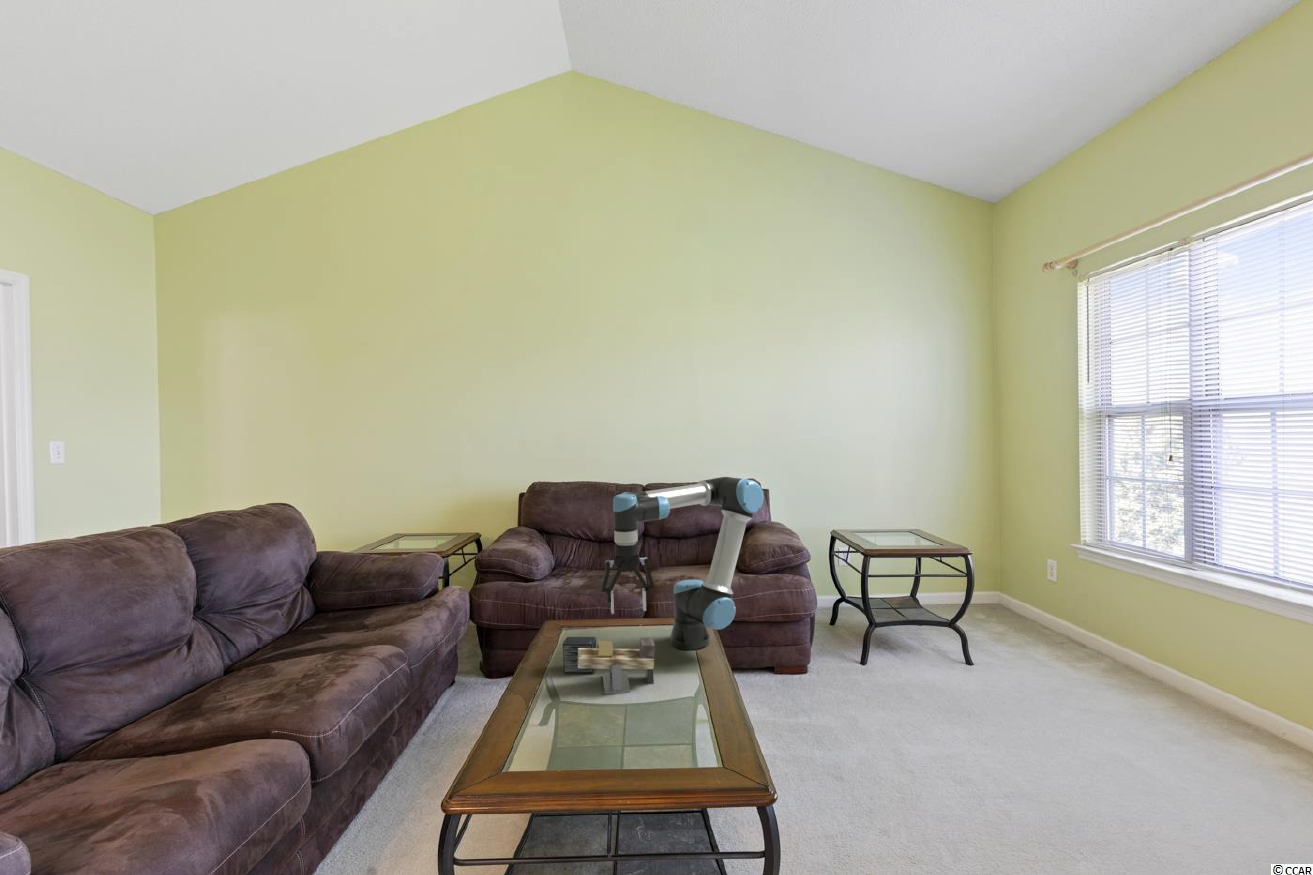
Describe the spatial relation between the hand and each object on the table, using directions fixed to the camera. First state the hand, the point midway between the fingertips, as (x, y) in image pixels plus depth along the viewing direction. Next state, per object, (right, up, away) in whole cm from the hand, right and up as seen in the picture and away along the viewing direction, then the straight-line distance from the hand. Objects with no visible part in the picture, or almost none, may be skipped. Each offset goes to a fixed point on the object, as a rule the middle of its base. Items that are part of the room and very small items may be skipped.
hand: (628, 610), depth 178 cm
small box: (-17, -24, +11) cm, 31 cm away
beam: (-4, -16, 0) cm, 17 cm away
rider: (-8, -15, -1) cm, 17 cm away
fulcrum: (0, -24, +1) cm, 24 cm away
